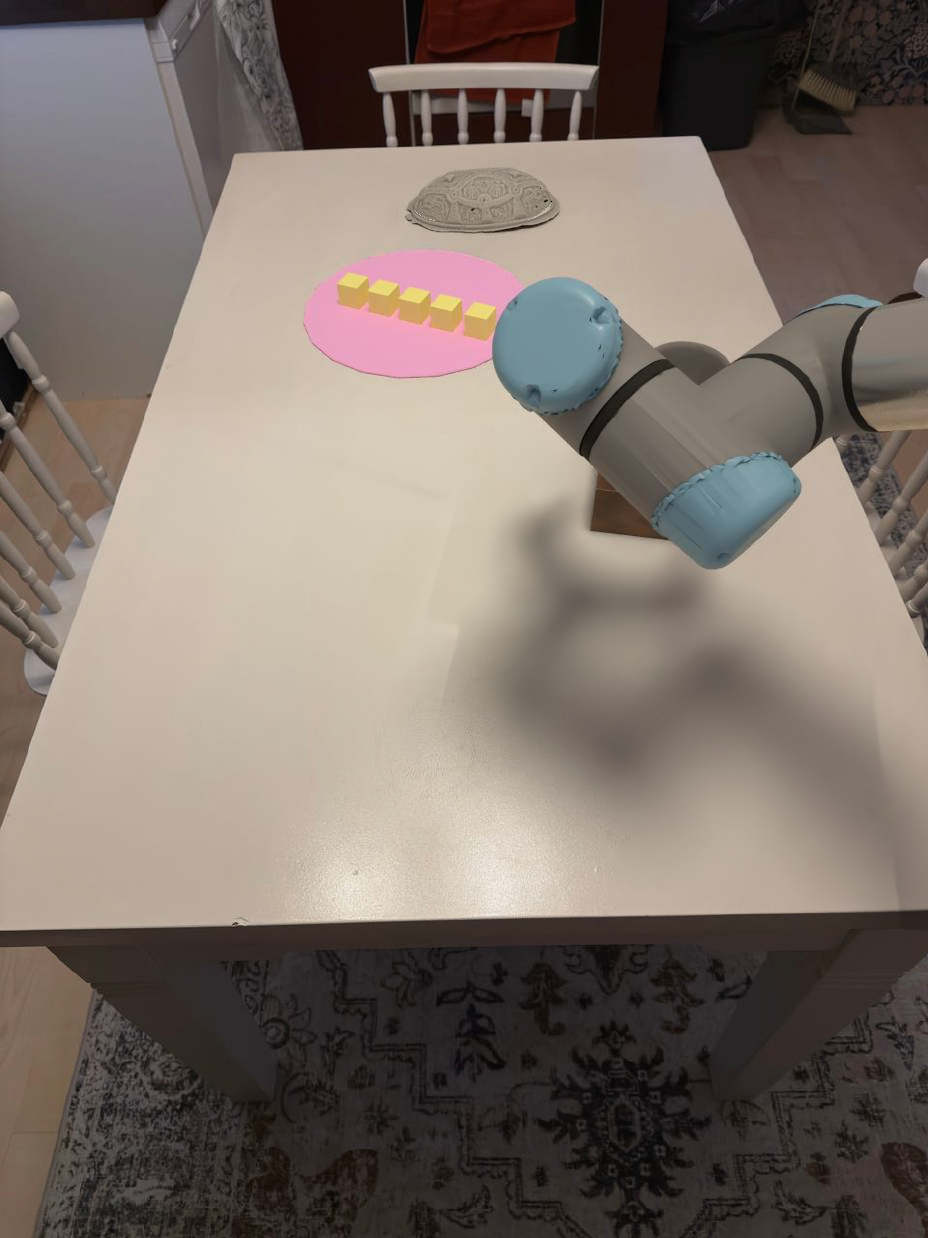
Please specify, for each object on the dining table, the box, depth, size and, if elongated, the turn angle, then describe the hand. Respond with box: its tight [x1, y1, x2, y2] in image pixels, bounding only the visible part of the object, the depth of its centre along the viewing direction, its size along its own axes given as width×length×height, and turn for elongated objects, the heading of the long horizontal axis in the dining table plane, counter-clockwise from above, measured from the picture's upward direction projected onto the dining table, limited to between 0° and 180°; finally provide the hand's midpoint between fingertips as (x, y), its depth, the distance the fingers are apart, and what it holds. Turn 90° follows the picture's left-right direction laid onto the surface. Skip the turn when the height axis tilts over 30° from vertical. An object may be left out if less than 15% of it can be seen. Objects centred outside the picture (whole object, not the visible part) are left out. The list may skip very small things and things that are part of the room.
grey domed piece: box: [405, 166, 561, 233], centre depth 133 cm, size 16×25×7 cm, turn 92°
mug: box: [654, 340, 731, 386], centre depth 84 cm, size 12×9×10 cm
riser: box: [589, 471, 670, 541], centre depth 91 cm, size 14×14×6 cm
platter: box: [303, 249, 525, 379], centre depth 116 cm, size 32×32×3 cm
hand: (656, 439), depth 80 cm, fingers open, 13 cm apart
